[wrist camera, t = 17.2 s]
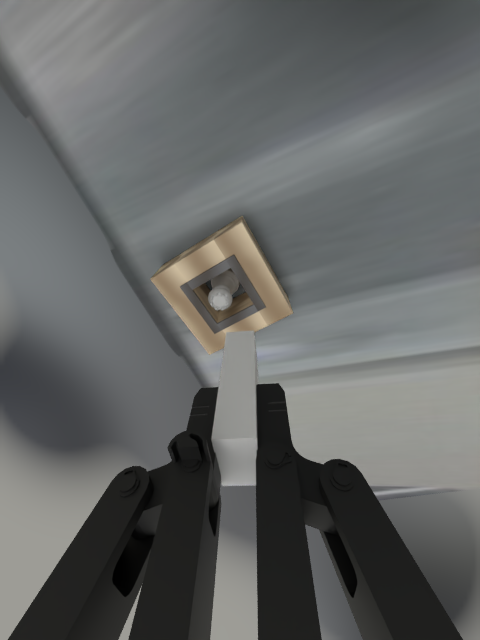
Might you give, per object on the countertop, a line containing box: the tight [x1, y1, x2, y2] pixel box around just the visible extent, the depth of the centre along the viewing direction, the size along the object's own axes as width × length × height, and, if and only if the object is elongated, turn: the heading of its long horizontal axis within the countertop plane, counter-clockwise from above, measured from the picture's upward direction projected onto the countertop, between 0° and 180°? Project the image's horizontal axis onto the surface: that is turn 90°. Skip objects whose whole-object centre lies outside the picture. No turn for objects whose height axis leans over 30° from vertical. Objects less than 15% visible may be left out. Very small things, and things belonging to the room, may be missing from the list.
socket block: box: [151, 216, 293, 355], centre depth 40 cm, size 14×14×6 cm
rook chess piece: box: [208, 268, 240, 311], centre depth 39 cm, size 4×4×8 cm
